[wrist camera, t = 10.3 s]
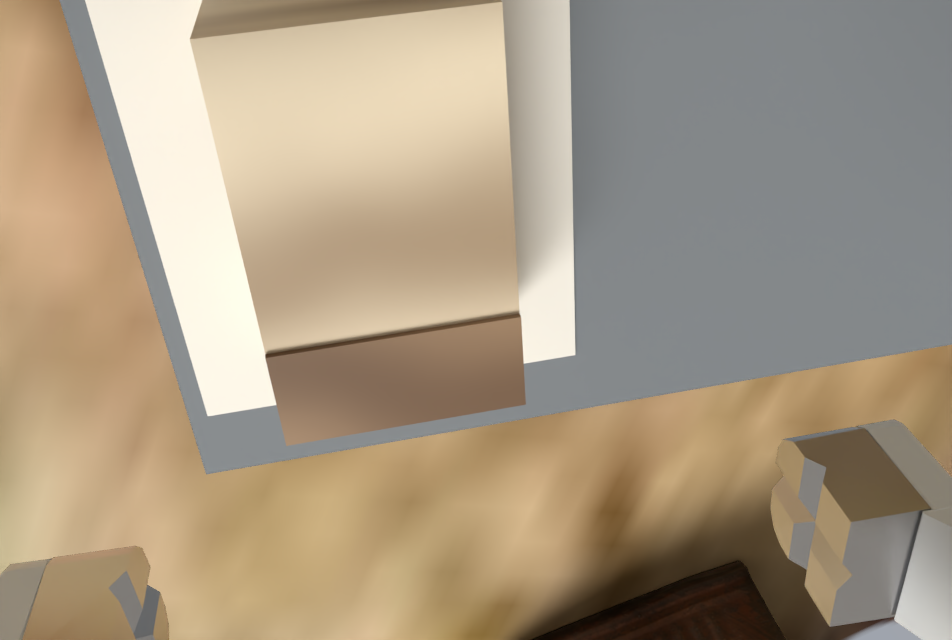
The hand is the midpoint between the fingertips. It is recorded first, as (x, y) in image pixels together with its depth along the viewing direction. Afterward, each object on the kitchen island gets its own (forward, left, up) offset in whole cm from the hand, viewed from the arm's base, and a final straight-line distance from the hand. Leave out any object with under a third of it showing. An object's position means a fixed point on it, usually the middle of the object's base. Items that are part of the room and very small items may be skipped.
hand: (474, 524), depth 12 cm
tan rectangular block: (0, 0, -12) cm, 12 cm away
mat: (-5, 0, -12) cm, 13 cm away
